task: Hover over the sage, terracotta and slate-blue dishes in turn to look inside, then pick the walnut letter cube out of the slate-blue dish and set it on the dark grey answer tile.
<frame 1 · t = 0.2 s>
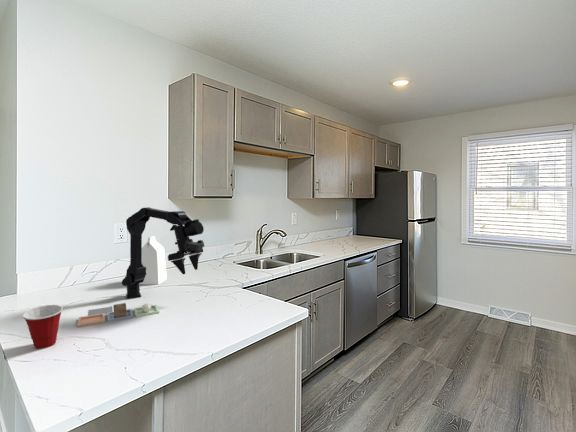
hand: (190, 271, 146), 15 cm above the countertop, tool pointing down, fingers open, 9 cm apart
milk: (152, 281, 186), on the countertop
dish terracotta: (91, 321, 127), on the countertop
plastic cup: (45, 345, 108), on the countertop
letter cube: (120, 316, 132), resting on dish slate
dish sage: (146, 312, 137), on the countertop
dish slate: (120, 317, 132), on the countertop
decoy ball: (146, 311, 137), resting on dish sage
answer tile: (100, 312, 137), on the countertop
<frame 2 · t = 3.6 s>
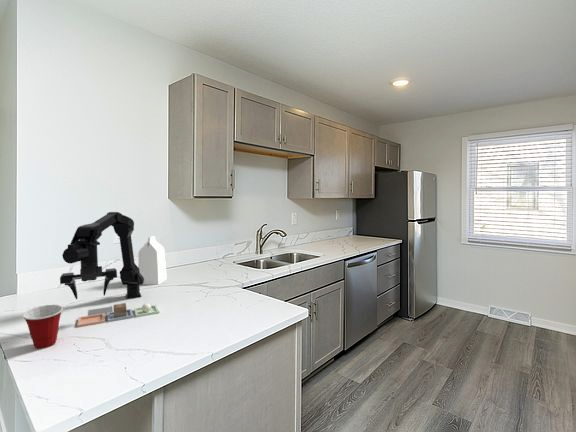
hand: (90, 297, 127), 10 cm above the countertop, tool pointing down, fingers open, 9 cm apart
nothing on the countertop moved.
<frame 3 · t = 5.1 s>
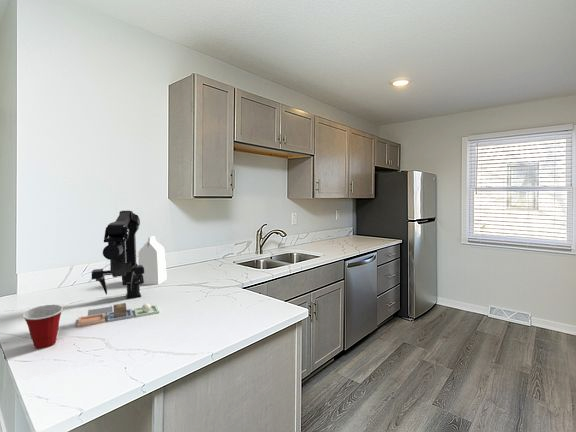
hand: (119, 292, 132), 10 cm above the countertop, tool pointing down, fingers open, 9 cm apart
nothing on the countertop moved.
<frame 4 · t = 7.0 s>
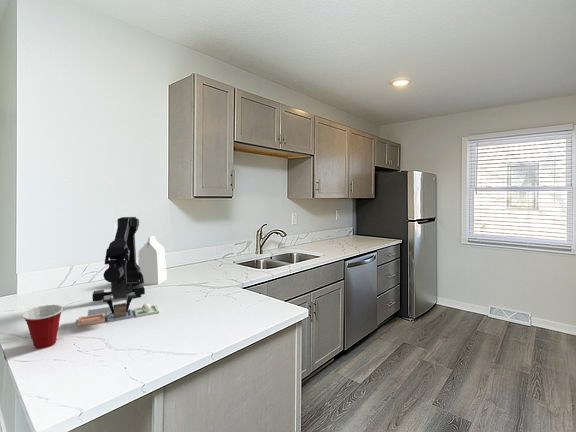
hand: (120, 313, 132), 2 cm above the countertop, tool pointing down, fingers closed on letter cube, 4 cm apart
letter cube: (120, 316, 132), resting on dish slate, touching gripper
everything else where it was.
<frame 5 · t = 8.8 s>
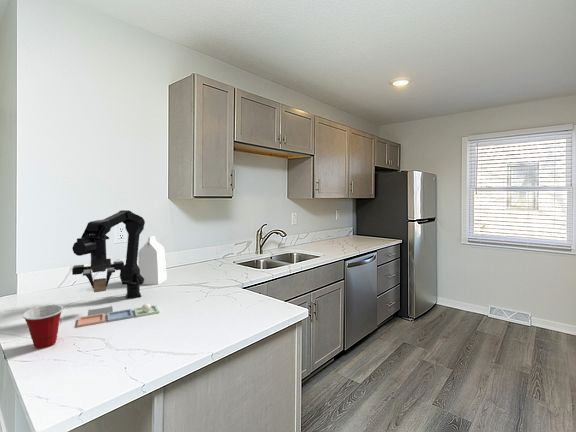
hand: (100, 287, 137), 11 cm above the countertop, tool pointing down, fingers closed on letter cube, 4 cm apart
letter cube: (100, 290, 137), point 10 cm above the countertop, touching gripper
everything else where it was.
when the fingers open (3 cm above the countertop, at t = 10.8 s): letter cube stays where it is, resting on answer tile.
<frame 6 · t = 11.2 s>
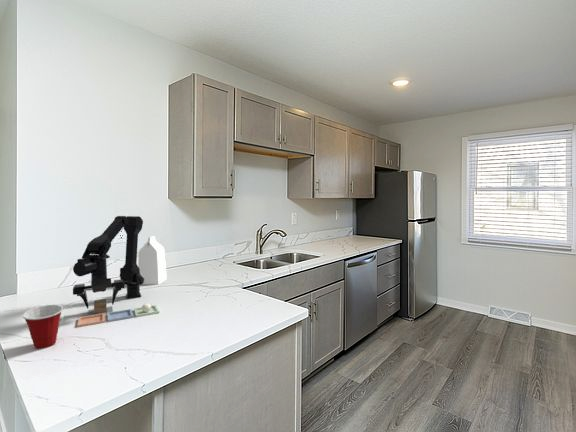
hand: (100, 306, 137), 3 cm above the countertop, tool pointing down, fingers open, 9 cm apart
letter cube: (100, 311, 137), resting on answer tile
everything else where it was.
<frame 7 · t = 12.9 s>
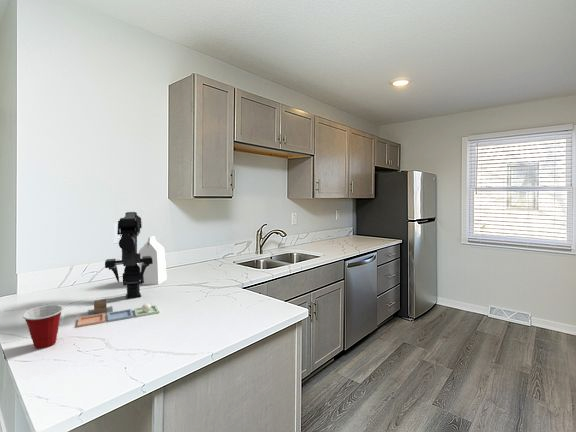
hand: (130, 280, 144), 12 cm above the countertop, tool pointing down, fingers open, 9 cm apart
nothing on the countertop moved.
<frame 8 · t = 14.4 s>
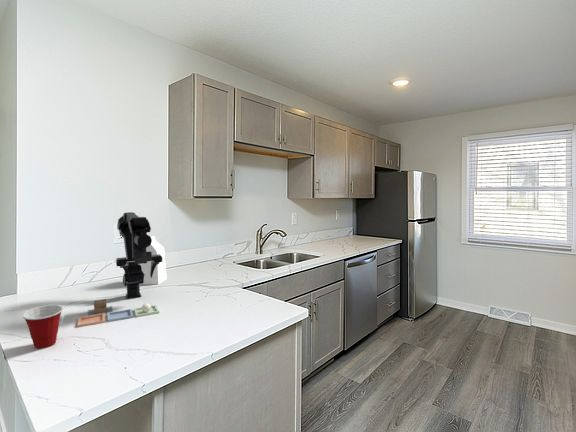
hand: (140, 278, 146), 12 cm above the countertop, tool pointing down, fingers open, 9 cm apart
nothing on the countertop moved.
at the end: letter cube inside the target area on the answer tile (0.0 cm from its centre), point 0.4 cm above the answer tile's base; the gripper is holding nothing; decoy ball moved 0.1 cm from its start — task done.
